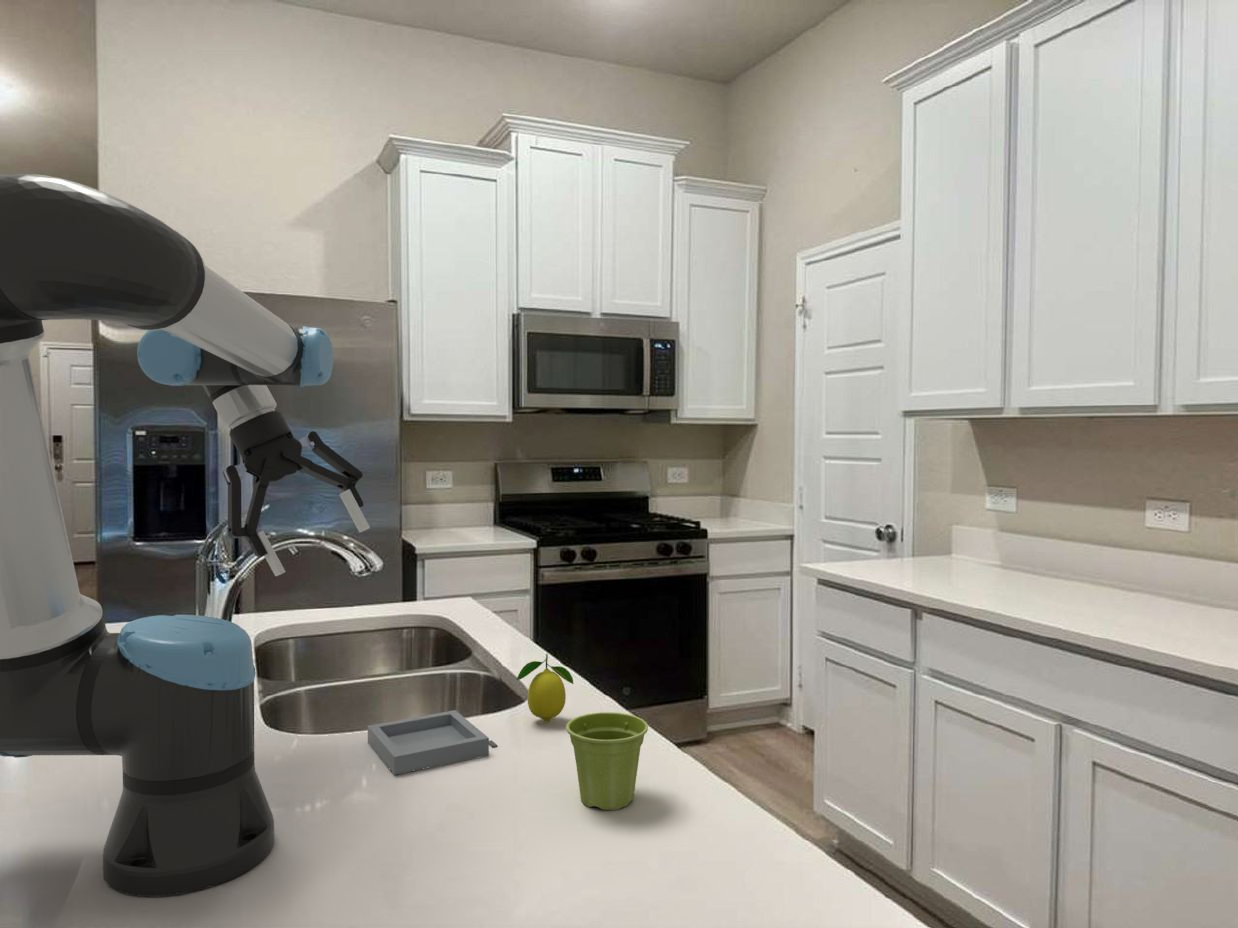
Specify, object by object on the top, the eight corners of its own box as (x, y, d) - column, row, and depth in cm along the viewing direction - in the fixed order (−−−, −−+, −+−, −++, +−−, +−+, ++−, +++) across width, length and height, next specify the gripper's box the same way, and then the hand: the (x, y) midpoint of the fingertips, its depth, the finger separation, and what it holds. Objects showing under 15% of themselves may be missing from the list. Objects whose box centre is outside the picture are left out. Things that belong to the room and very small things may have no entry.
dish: (488, 755, 109) (488, 737, 109) (394, 775, 102) (394, 756, 102) (455, 725, 120) (455, 710, 119) (367, 742, 113) (367, 725, 113)
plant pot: (554, 789, 99) (555, 717, 98) (627, 776, 103) (628, 707, 102) (583, 824, 90) (583, 745, 90) (661, 808, 94) (662, 733, 94)
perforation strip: (497, 746, 112) (497, 744, 112) (492, 747, 112) (492, 745, 112) (472, 725, 120) (472, 724, 120) (468, 726, 119) (468, 725, 119)
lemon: (516, 726, 119) (516, 657, 119) (532, 713, 125) (532, 647, 125) (560, 731, 117) (560, 661, 117) (574, 718, 123) (574, 650, 123)
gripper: (323, 395, 129) (387, 517, 131) (159, 460, 114) (235, 596, 116) (339, 382, 123) (406, 509, 125) (169, 447, 108) (248, 591, 110)
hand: (324, 551), depth 121 cm, fingers open, 13 cm apart
